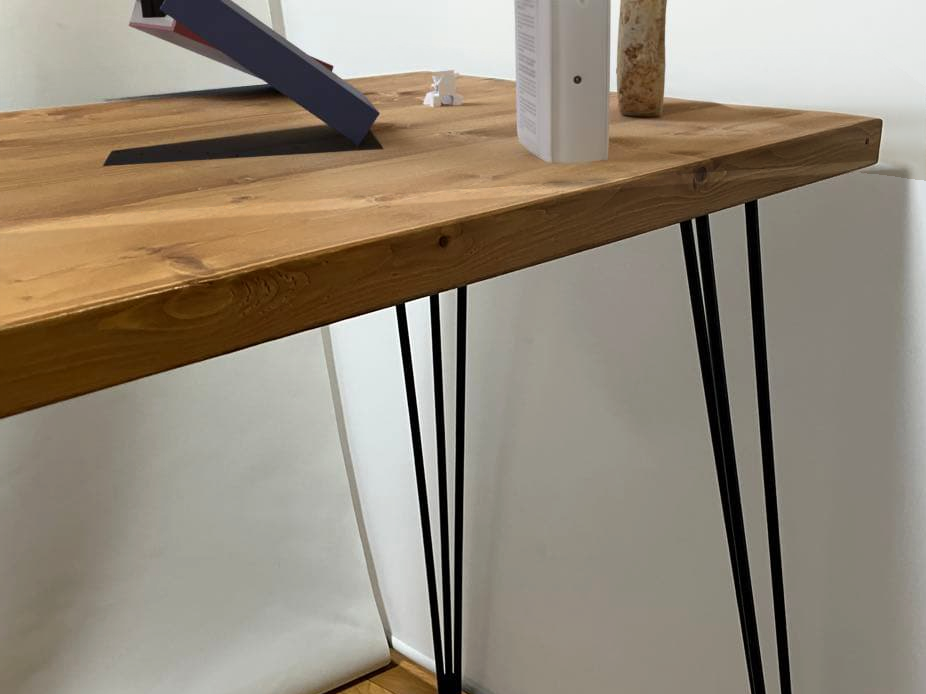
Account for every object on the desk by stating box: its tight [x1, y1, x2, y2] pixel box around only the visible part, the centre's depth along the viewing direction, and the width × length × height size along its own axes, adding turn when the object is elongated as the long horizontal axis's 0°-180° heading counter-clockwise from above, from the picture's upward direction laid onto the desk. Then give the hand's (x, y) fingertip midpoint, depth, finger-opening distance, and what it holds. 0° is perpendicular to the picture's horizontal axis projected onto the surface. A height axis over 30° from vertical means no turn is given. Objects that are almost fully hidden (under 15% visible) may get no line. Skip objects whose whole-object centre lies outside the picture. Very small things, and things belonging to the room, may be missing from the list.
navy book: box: [160, 0, 380, 146], centre depth 73 cm, size 14×10×2 cm
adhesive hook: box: [422, 69, 464, 108], centre depth 89 cm, size 3×3×3 cm
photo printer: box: [513, 0, 612, 164], centre depth 67 cm, size 10×4×12 cm, turn 13°
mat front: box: [103, 125, 385, 167], centre depth 74 cm, size 17×13×1 cm
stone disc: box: [615, 0, 668, 118], centre depth 82 cm, size 10×4×10 cm, turn 171°
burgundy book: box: [128, 0, 334, 80], centre depth 95 cm, size 14×10×2 cm
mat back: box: [103, 83, 288, 107], centre depth 96 cm, size 17×13×1 cm
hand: (155, 16), depth 70 cm, fingers closed
